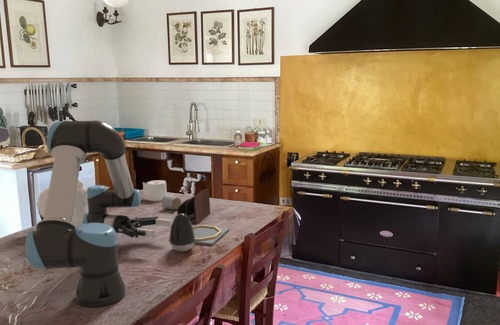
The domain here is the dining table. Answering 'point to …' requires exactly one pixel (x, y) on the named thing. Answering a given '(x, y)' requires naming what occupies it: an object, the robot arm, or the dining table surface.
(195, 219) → the letter holder
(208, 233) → the dock plate
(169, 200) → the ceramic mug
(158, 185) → the toilet tissue
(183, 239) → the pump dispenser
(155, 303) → the dining table surface
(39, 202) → the decorative rooster
